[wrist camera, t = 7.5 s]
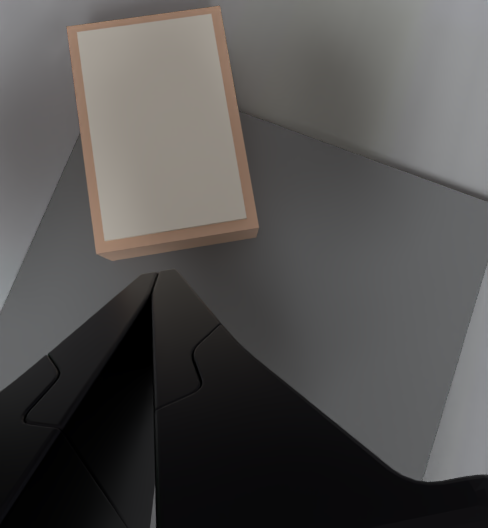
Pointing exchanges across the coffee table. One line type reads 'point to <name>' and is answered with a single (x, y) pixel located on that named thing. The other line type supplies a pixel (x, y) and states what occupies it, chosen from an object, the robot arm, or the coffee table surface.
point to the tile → (161, 134)
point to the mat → (295, 285)
